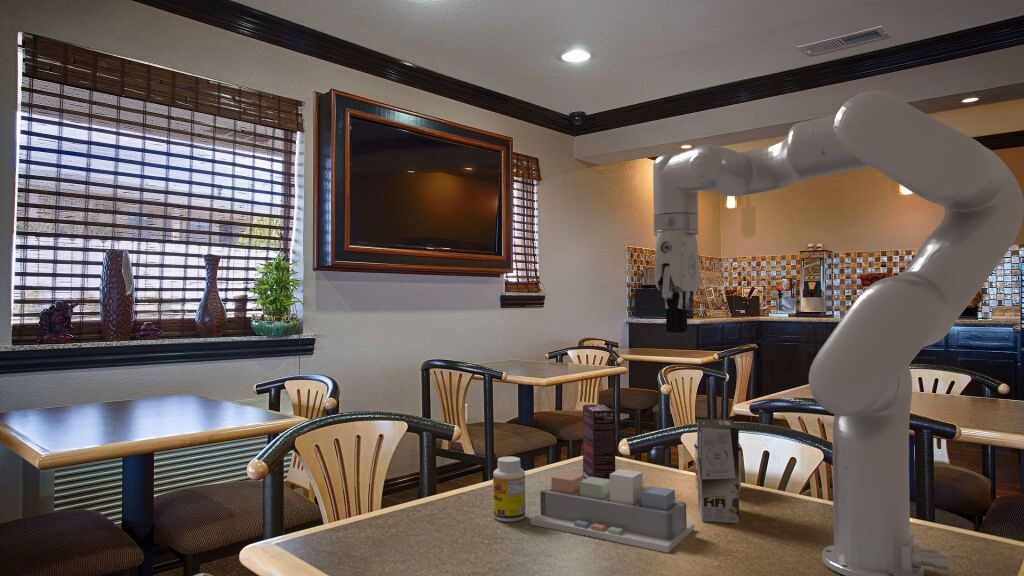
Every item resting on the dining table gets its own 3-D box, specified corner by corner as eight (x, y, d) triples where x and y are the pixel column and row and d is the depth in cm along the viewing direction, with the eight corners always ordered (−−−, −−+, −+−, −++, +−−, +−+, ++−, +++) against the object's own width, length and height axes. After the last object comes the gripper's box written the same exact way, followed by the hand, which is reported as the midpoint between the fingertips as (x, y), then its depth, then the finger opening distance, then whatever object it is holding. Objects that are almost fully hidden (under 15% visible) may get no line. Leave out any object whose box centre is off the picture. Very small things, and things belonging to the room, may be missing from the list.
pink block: (583, 504, 118) (582, 475, 118) (572, 510, 115) (572, 480, 115) (562, 500, 120) (562, 472, 120) (551, 506, 117) (551, 477, 117)
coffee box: (740, 524, 114) (739, 427, 114) (701, 522, 115) (700, 426, 116) (734, 508, 123) (733, 418, 123) (697, 506, 124) (696, 417, 124)
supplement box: (617, 490, 134) (616, 410, 135) (593, 491, 134) (592, 411, 134) (604, 479, 143) (603, 403, 143) (582, 480, 142) (581, 404, 143)
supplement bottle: (489, 514, 120) (489, 456, 120) (519, 511, 121) (519, 454, 122) (498, 524, 114) (498, 463, 115) (529, 521, 116) (529, 461, 116)
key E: (612, 509, 115) (611, 479, 115) (601, 515, 112) (601, 485, 112) (590, 505, 117) (590, 476, 117) (580, 511, 114) (579, 481, 114)
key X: (642, 502, 112) (642, 472, 112) (632, 508, 109) (632, 477, 109) (620, 498, 114) (619, 468, 114) (610, 504, 111) (609, 474, 111)
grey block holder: (694, 529, 111) (693, 499, 111) (667, 552, 101) (667, 519, 101) (565, 506, 124) (565, 478, 125) (530, 524, 114) (530, 494, 114)
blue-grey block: (674, 521, 109) (674, 489, 109) (666, 528, 106) (665, 495, 106) (651, 516, 111) (651, 486, 111) (641, 523, 108) (641, 491, 108)
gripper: (682, 220, 109) (683, 334, 109) (710, 228, 122) (711, 331, 122) (638, 224, 114) (639, 333, 113) (670, 231, 126) (671, 330, 126)
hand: (676, 332), depth 117 cm, fingers closed
